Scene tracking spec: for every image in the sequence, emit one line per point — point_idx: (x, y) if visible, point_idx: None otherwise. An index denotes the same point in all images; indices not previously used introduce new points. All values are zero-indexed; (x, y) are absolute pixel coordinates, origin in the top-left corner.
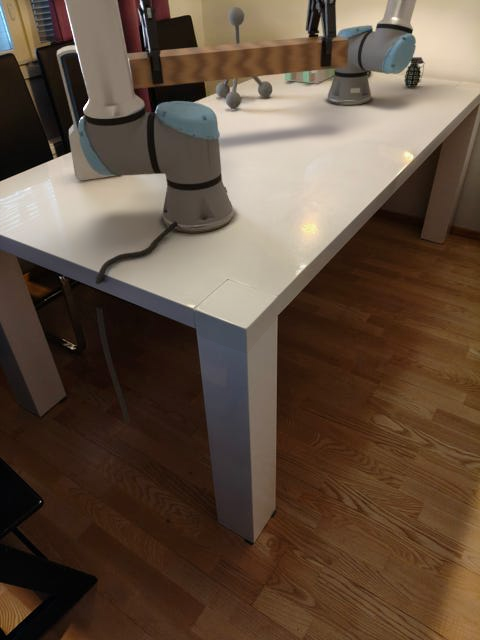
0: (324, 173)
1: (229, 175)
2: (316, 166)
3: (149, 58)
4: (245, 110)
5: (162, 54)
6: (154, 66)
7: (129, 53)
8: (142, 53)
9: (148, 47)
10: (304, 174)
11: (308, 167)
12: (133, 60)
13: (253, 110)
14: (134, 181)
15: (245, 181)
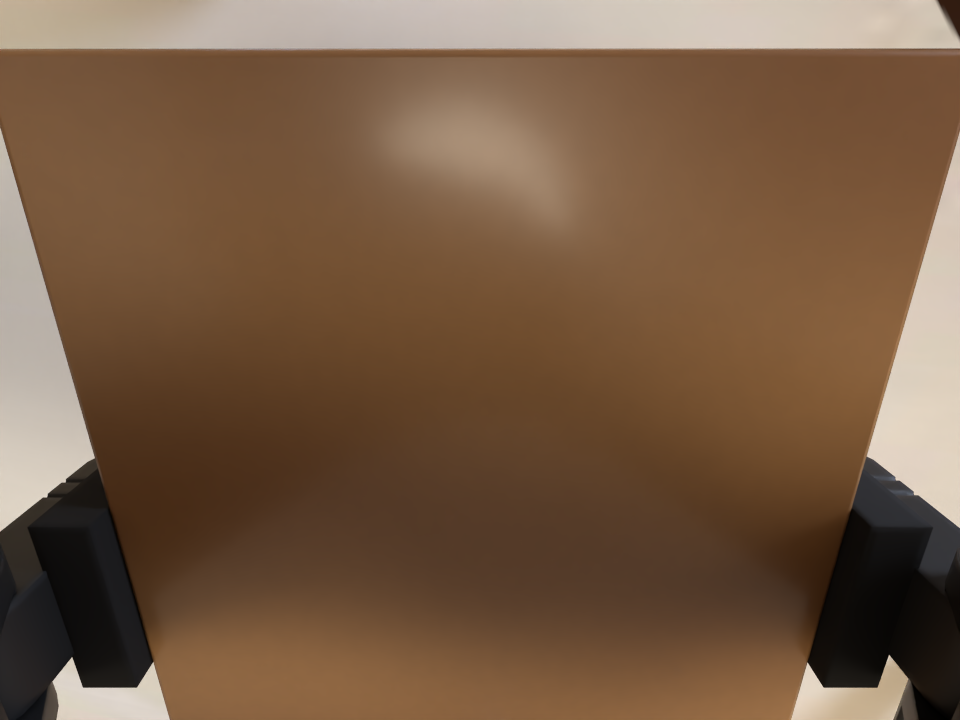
0: (63, 716)
1: (82, 462)
2: (129, 714)
3: (116, 501)
4: (896, 676)
5: (370, 713)
6: (68, 486)
7: (918, 129)
8: (694, 428)
9: (937, 612)
10: (61, 670)
11: (124, 694)
12: (31, 171)
13: (872, 701)
14: (55, 36)
15: (13, 500)
